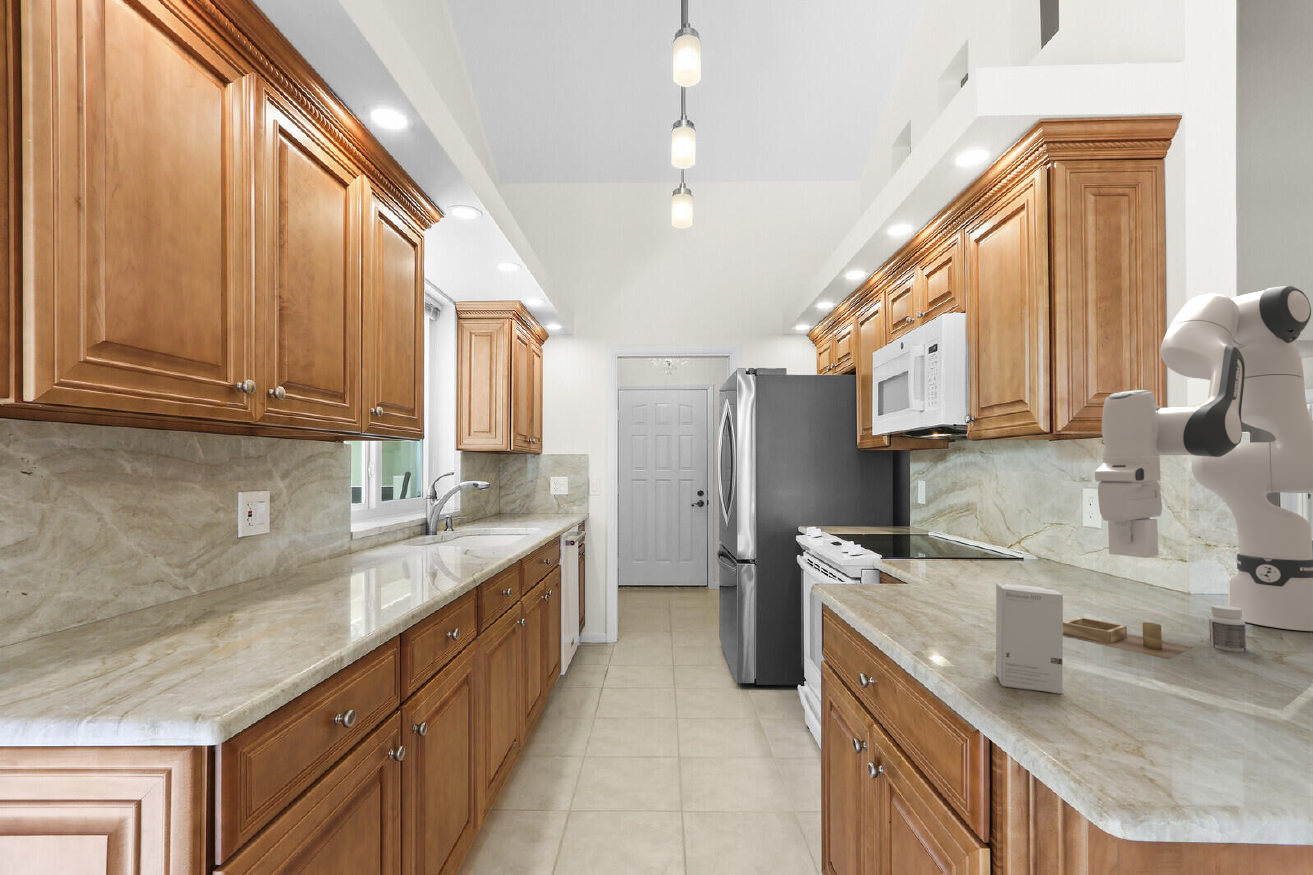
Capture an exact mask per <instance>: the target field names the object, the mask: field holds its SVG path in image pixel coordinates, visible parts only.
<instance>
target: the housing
mask: <svg viewBox="0 0 1313 875" xmlns="http://www.w3.org/2000/svg"><path fill="white" fill-rule="evenodd" d="M1107 523H1108V524H1107V526H1108V551H1109V552H1108V554H1109V555H1114V556H1115V555H1117V556H1125V557H1126V556H1127V557H1135V558H1142V559H1143V558H1144V559H1148V558H1153V557H1156V556H1159V537H1158V536H1159V535H1158V534H1159V533H1158V532H1159V531H1158V530H1159V529H1158V519H1157V518H1150V519H1146V518H1144V519H1138V520H1131V526H1130V531H1131V535H1133V542H1132V543H1130V544H1121V543H1120V542H1119V534H1118V532H1117V529H1116V527H1115V521H1107Z"/></svg>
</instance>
